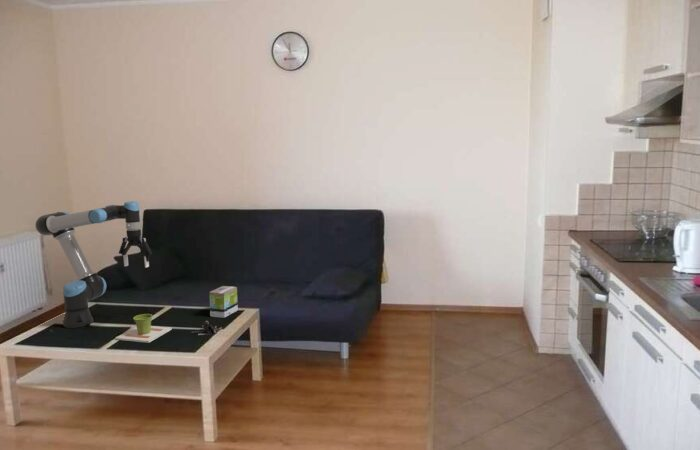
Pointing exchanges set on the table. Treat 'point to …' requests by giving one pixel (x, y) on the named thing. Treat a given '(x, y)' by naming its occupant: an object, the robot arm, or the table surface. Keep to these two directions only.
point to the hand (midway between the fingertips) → (136, 266)
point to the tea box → (223, 301)
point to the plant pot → (143, 323)
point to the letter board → (147, 337)
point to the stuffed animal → (207, 329)
